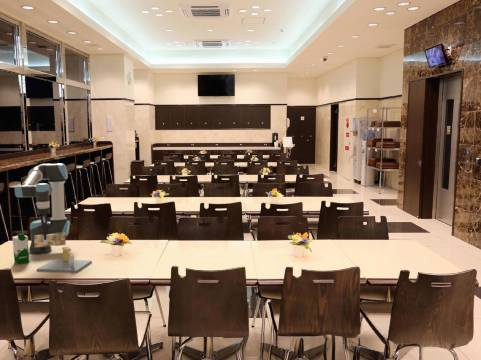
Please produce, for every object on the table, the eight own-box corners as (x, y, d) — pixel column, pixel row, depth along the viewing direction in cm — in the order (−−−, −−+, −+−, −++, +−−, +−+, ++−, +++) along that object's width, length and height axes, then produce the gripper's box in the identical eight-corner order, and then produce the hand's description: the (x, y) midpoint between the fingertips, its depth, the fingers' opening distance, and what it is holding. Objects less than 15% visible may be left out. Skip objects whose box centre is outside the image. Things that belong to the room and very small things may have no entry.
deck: (54, 261, 312) (53, 245, 310) (91, 262, 308) (91, 247, 307) (36, 271, 291) (35, 254, 289) (76, 272, 287) (75, 256, 286)
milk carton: (17, 265, 303) (15, 235, 301) (12, 262, 310) (10, 233, 307) (30, 262, 310) (29, 233, 307) (26, 259, 316) (24, 231, 313)
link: (65, 242, 300) (64, 232, 299) (65, 244, 294) (65, 234, 293) (34, 245, 292) (33, 234, 292) (34, 247, 287) (34, 237, 286)
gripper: (36, 206, 295) (38, 241, 298) (37, 210, 280) (39, 247, 283) (49, 205, 299) (51, 240, 301) (50, 209, 283) (52, 246, 286)
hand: (45, 243), depth 292 cm, fingers closed on link, 4 cm apart
